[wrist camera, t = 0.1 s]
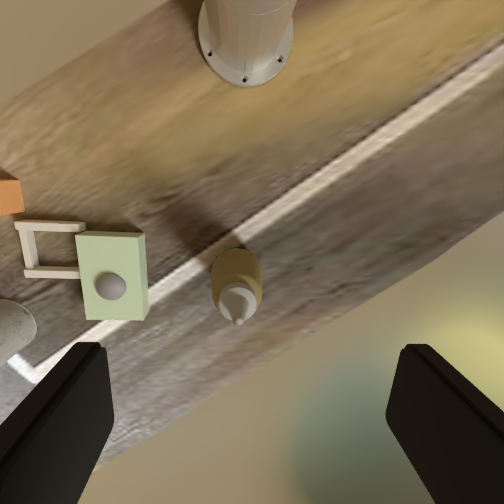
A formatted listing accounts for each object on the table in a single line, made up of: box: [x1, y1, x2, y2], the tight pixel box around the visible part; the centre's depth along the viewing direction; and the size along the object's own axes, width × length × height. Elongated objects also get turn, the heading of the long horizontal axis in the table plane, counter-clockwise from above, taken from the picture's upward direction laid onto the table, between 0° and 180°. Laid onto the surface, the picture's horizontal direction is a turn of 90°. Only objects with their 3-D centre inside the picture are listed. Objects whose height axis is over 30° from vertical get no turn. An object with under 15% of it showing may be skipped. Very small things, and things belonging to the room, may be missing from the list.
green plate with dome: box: [14, 219, 149, 320], centre depth 43 cm, size 15×18×4 cm
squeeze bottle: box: [211, 248, 263, 326], centre depth 38 cm, size 8×8×18 cm
